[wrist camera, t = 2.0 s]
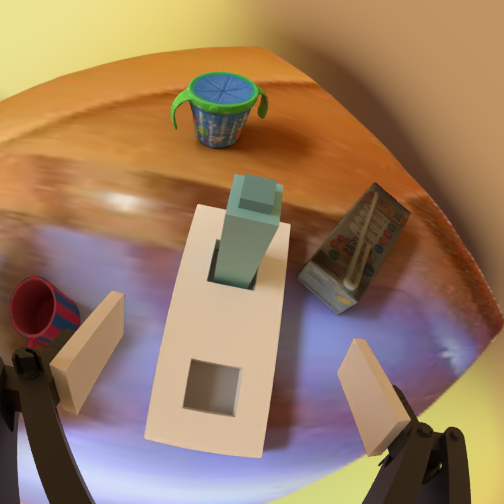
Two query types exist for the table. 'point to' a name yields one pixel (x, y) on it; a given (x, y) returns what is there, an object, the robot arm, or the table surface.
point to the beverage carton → (355, 250)
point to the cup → (41, 311)
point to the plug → (247, 228)
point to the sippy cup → (220, 106)
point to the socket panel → (218, 348)
